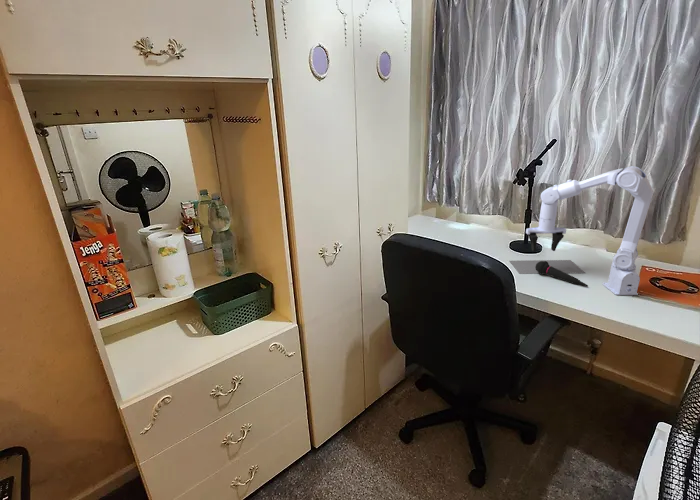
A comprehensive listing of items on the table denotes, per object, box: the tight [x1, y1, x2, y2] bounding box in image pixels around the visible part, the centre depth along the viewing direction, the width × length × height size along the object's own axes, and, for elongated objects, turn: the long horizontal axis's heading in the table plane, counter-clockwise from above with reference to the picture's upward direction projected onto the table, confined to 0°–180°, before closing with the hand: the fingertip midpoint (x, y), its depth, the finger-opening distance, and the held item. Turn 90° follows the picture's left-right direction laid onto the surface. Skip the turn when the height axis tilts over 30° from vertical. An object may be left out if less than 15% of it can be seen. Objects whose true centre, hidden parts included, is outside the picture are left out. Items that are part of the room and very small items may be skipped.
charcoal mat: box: [509, 259, 586, 275], centre depth 163 cm, size 14×26×1 cm, turn 85°
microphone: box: [535, 261, 589, 288], centre depth 150 cm, size 6×6×20 cm
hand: (543, 250), depth 155 cm, fingers open, 7 cm apart
